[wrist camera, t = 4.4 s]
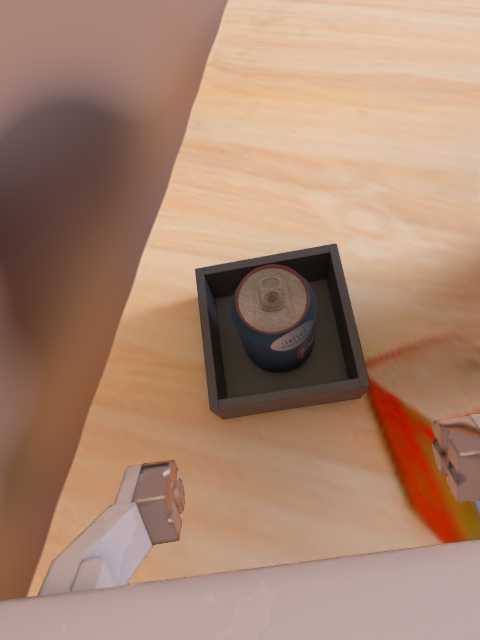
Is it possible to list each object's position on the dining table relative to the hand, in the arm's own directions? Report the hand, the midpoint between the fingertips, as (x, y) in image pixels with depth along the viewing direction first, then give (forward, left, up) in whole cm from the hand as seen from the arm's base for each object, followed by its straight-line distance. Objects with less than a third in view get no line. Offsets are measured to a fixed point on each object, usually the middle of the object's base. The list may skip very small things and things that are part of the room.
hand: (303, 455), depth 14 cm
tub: (-3, -12, -29) cm, 32 cm away
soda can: (-3, -12, -29) cm, 32 cm away
